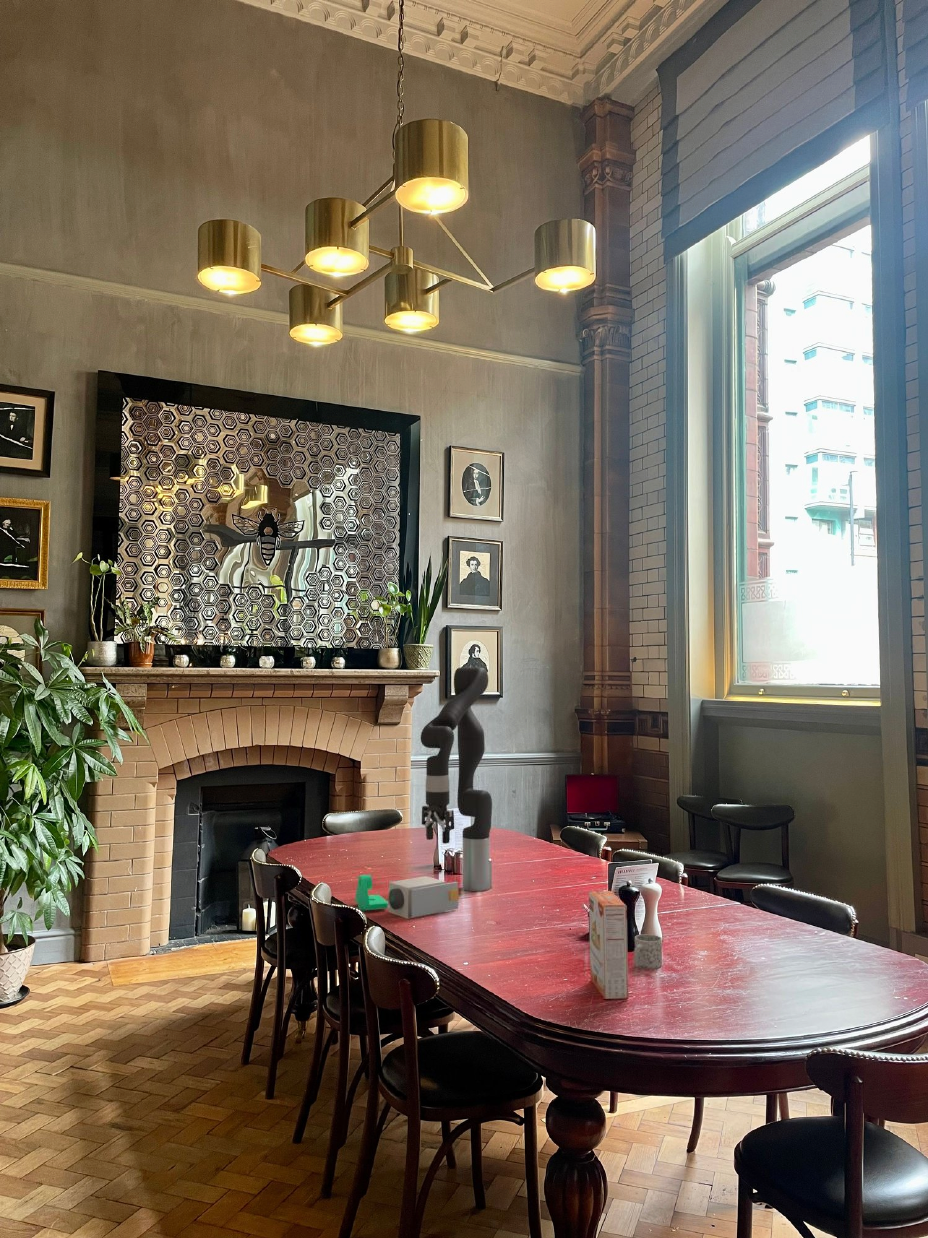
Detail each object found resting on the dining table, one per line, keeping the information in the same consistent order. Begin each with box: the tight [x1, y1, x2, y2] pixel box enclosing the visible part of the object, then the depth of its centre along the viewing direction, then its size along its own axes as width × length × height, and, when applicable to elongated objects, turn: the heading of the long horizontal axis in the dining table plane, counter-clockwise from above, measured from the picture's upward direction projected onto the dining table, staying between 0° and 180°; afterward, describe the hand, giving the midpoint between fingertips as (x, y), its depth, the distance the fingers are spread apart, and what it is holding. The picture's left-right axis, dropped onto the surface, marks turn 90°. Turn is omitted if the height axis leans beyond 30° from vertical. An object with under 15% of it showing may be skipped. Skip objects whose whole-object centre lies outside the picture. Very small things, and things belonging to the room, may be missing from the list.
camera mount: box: [354, 874, 389, 911], centre depth 287 cm, size 12×8×10 cm, turn 20°
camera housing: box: [388, 875, 446, 920], centre depth 282 cm, size 16×10×9 cm, turn 129°
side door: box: [409, 881, 459, 919], centre depth 279 cm, size 18×2×8 cm, turn 129°
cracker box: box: [588, 890, 629, 1000], centre depth 212 cm, size 14×6×21 cm, turn 5°
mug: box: [633, 933, 663, 970], centre depth 229 cm, size 10×7×7 cm, turn 141°
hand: (437, 841), depth 290 cm, fingers open, 8 cm apart
